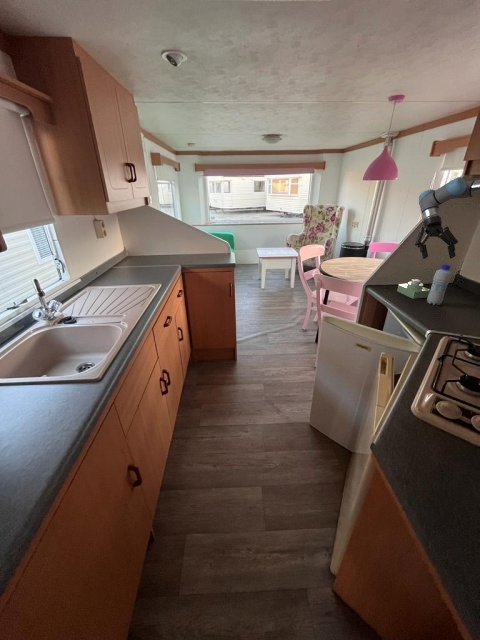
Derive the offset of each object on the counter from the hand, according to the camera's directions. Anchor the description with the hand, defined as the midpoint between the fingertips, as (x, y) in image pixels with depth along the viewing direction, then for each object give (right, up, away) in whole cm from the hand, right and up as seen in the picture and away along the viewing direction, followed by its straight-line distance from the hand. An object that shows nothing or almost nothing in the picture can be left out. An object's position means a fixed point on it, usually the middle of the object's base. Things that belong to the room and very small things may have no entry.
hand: (439, 257), depth 132 cm
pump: (-4, -12, +12) cm, 17 cm away
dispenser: (-4, -17, +14) cm, 22 cm away
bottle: (-1, -23, +2) cm, 23 cm away
